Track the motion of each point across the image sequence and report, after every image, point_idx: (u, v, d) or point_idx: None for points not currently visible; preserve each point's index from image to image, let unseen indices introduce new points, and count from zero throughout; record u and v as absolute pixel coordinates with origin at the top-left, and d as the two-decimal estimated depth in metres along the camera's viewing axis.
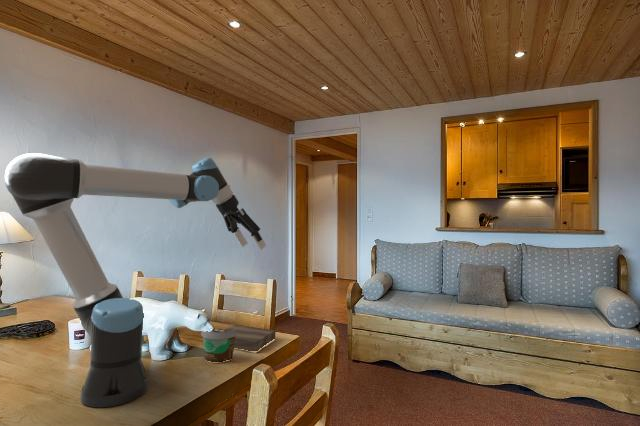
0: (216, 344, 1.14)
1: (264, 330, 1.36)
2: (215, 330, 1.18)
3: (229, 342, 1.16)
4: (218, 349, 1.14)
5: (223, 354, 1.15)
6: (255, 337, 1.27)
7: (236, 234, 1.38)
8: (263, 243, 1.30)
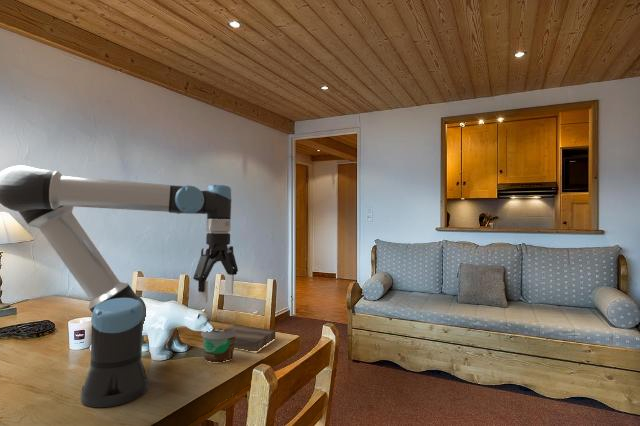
0: (216, 344, 1.14)
1: (264, 330, 1.36)
2: (215, 330, 1.18)
3: (229, 342, 1.16)
4: (218, 349, 1.14)
5: (223, 354, 1.15)
6: (255, 337, 1.27)
7: (227, 277, 1.23)
8: (204, 298, 1.10)
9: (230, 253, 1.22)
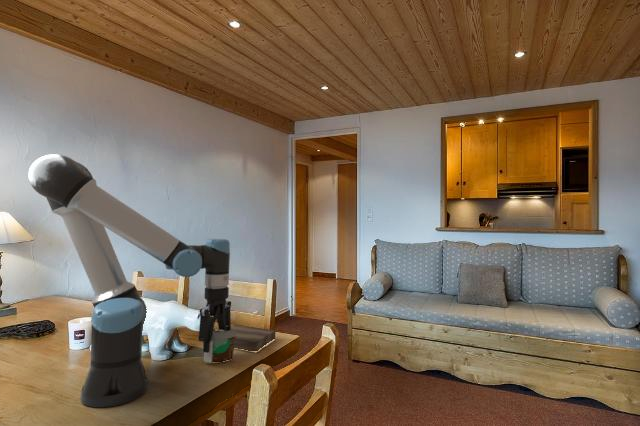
0: (216, 344, 1.14)
1: (264, 330, 1.36)
2: (215, 330, 1.18)
3: (229, 342, 1.16)
4: (218, 349, 1.14)
5: (223, 354, 1.15)
6: (255, 337, 1.27)
7: None
8: (209, 358, 1.12)
9: (227, 308, 1.21)
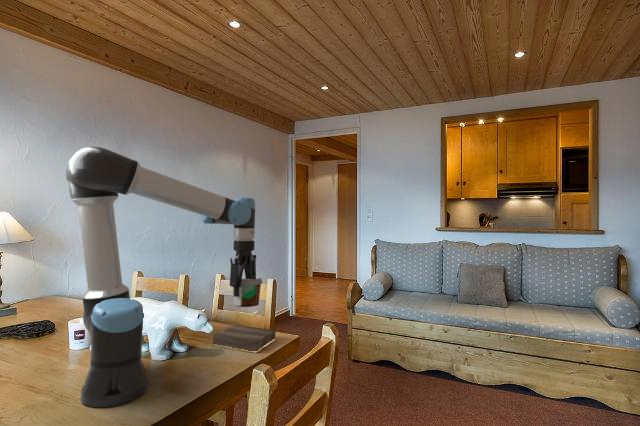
0: (244, 290, 1.28)
1: (264, 330, 1.36)
2: (243, 279, 1.32)
3: (256, 289, 1.30)
4: (246, 294, 1.29)
5: (251, 299, 1.29)
6: (255, 337, 1.27)
7: None
8: (238, 301, 1.27)
9: (253, 260, 1.35)
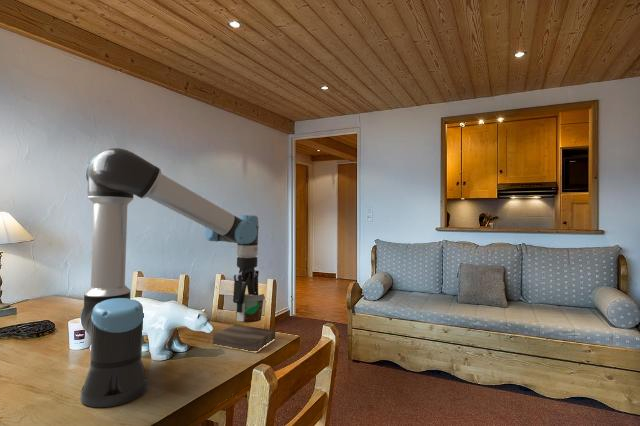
0: (247, 306, 1.31)
1: (264, 330, 1.36)
2: (246, 295, 1.35)
3: (258, 304, 1.33)
4: (249, 310, 1.31)
5: (253, 315, 1.32)
6: (255, 337, 1.27)
7: None
8: (241, 317, 1.29)
9: (255, 276, 1.38)
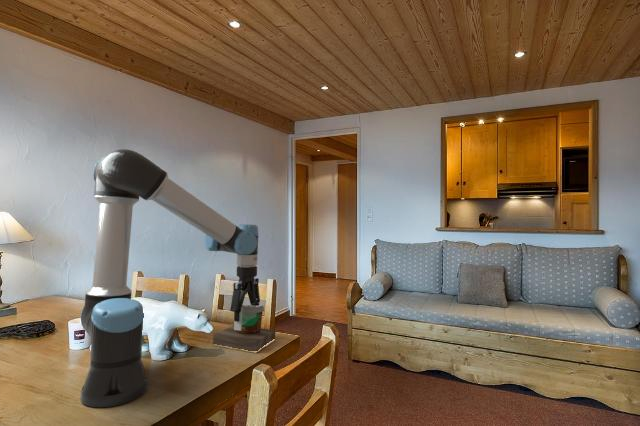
0: (247, 318, 1.30)
1: (264, 330, 1.36)
2: (245, 306, 1.35)
3: (258, 316, 1.32)
4: (248, 322, 1.31)
5: (253, 326, 1.31)
6: (255, 337, 1.27)
7: None
8: (239, 326, 1.28)
9: (255, 284, 1.38)
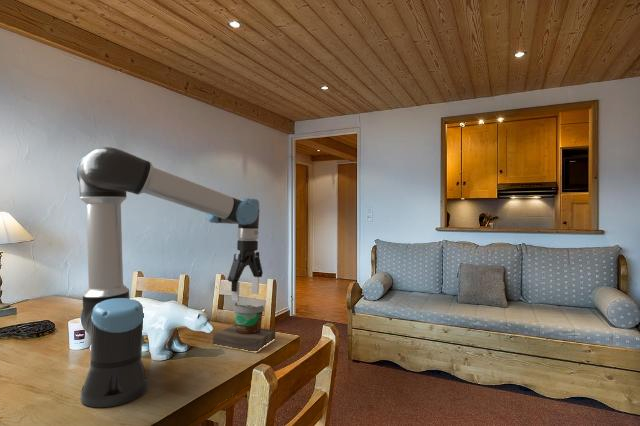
0: (247, 318, 1.30)
1: (264, 330, 1.36)
2: (245, 306, 1.35)
3: (258, 316, 1.32)
4: (248, 322, 1.31)
5: (253, 326, 1.31)
6: (255, 337, 1.27)
7: (253, 279, 1.40)
8: (236, 296, 1.26)
9: (256, 258, 1.39)
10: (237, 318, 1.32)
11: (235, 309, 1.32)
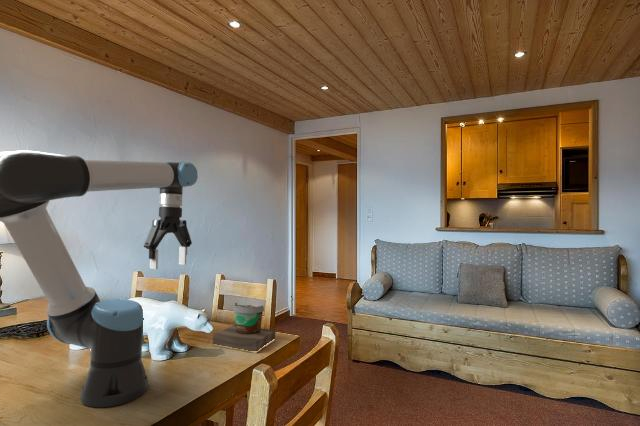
0: (247, 318, 1.30)
1: (264, 330, 1.36)
2: (245, 306, 1.35)
3: (258, 316, 1.32)
4: (248, 322, 1.31)
5: (253, 326, 1.31)
6: (255, 337, 1.27)
7: (180, 249, 1.33)
8: (154, 265, 1.19)
9: (183, 226, 1.32)
10: (237, 318, 1.32)
11: (235, 309, 1.32)
